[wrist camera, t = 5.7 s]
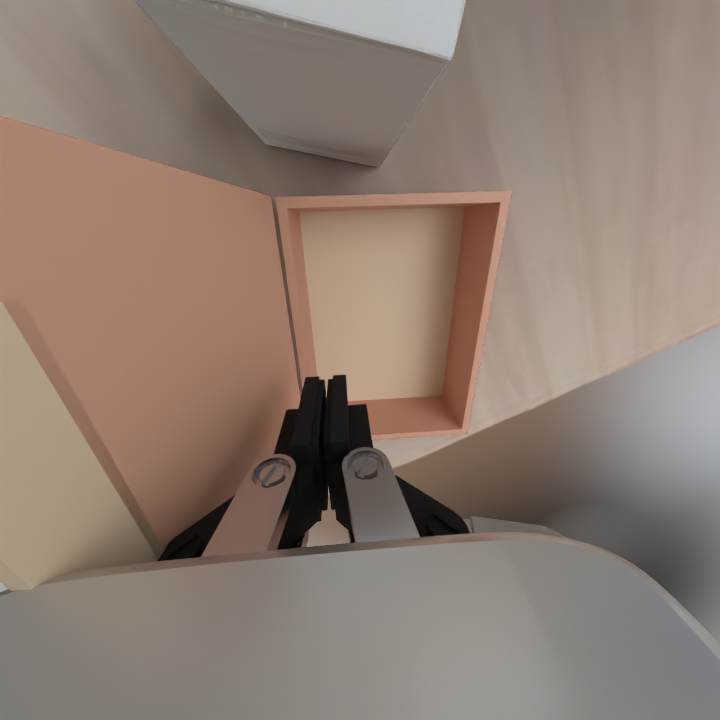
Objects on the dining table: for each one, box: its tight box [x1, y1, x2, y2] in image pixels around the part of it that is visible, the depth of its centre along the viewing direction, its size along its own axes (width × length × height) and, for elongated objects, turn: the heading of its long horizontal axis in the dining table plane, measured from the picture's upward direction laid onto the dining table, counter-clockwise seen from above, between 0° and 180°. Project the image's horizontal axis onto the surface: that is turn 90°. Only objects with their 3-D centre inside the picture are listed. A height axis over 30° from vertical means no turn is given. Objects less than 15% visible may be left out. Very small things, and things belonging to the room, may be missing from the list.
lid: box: [0, 116, 301, 592], centre depth 11 cm, size 13×16×1 cm
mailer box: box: [275, 191, 512, 440], centre depth 20 cm, size 12×16×5 cm
